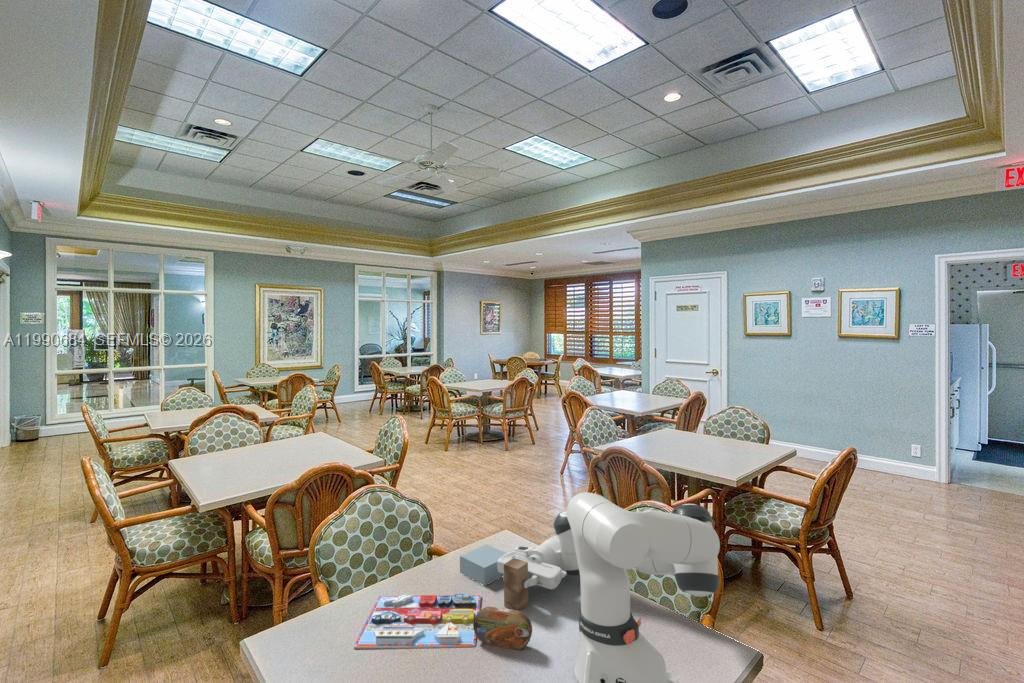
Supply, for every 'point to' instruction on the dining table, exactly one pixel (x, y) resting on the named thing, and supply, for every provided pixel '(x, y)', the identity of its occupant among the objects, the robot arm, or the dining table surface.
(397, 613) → the puzzle board
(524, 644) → the tin
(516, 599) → the walnut block
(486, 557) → the grey box
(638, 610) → the dining table surface
